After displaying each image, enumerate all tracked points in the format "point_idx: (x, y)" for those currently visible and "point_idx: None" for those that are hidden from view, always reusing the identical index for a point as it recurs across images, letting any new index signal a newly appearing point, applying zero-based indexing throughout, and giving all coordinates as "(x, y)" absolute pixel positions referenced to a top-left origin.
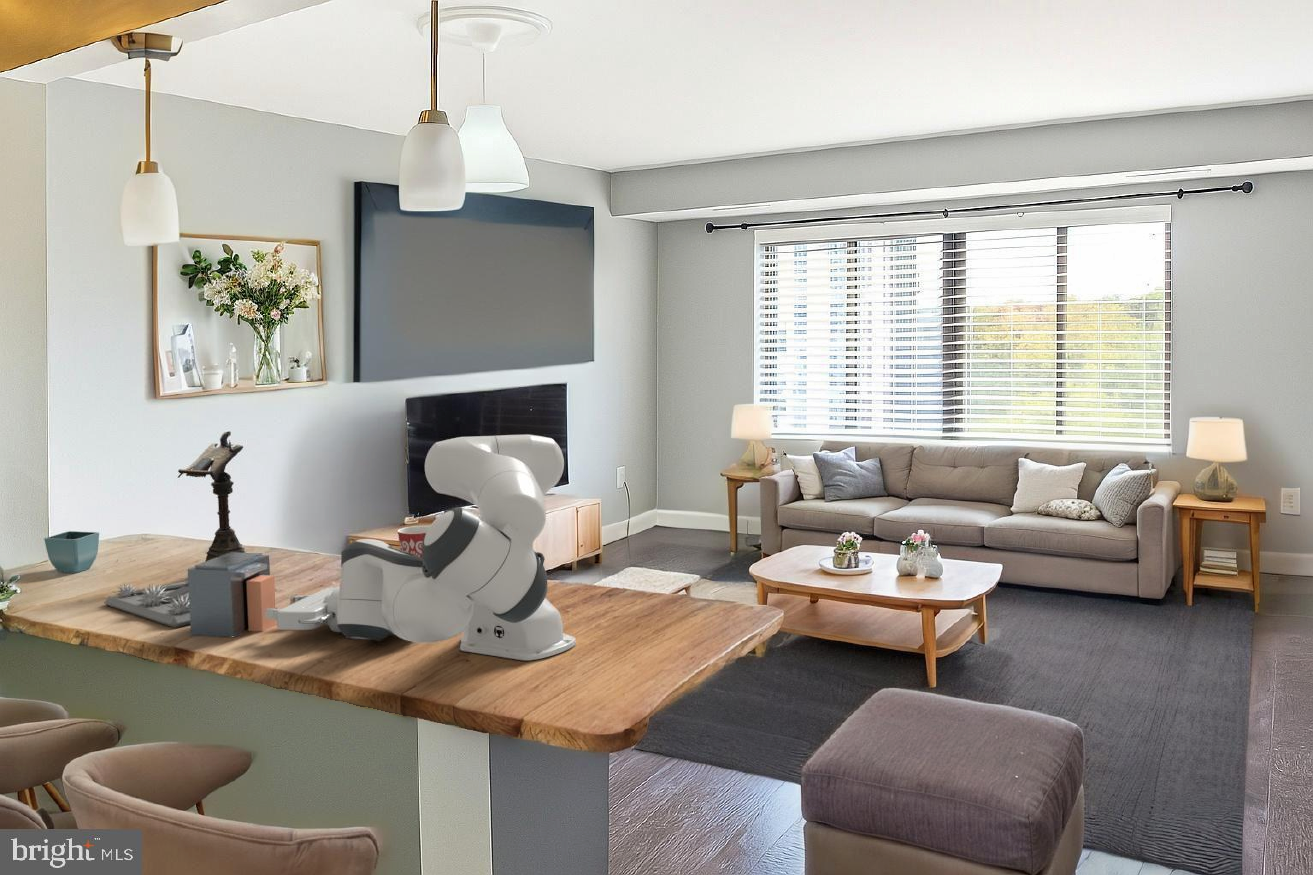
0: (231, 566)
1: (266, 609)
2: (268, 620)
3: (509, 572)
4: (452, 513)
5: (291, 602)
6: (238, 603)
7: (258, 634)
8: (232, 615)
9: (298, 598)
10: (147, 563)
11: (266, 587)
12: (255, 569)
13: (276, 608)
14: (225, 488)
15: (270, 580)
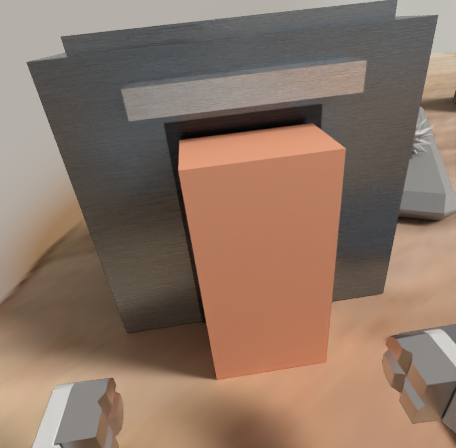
0: (95, 40)
1: (54, 390)
2: (264, 349)
3: None
4: None
5: (389, 358)
6: (142, 231)
7: (172, 392)
8: (105, 269)
9: (430, 388)
10: (432, 74)
11: (250, 211)
12: (237, 83)
13: (86, 441)
14: None
15: (301, 175)
